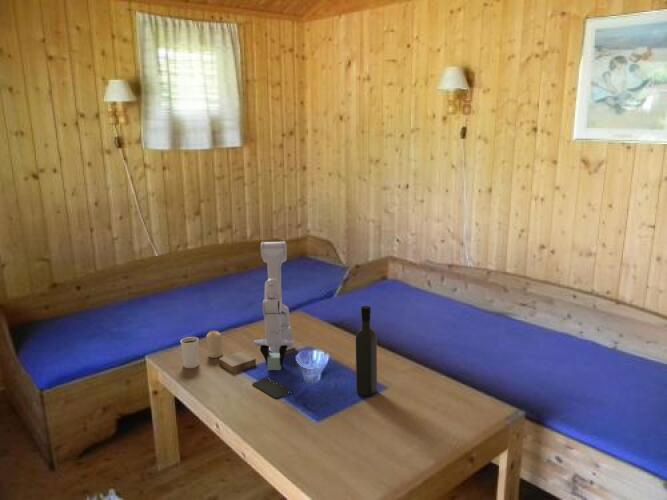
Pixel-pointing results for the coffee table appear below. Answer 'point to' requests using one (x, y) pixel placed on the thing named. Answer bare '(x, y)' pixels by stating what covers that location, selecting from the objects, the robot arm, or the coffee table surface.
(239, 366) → the walnut base
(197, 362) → the beige cup
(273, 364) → the painted block
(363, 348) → the wine bottle
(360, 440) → the coffee table surface
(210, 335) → the candle
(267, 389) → the phone
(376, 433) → the coffee table surface
